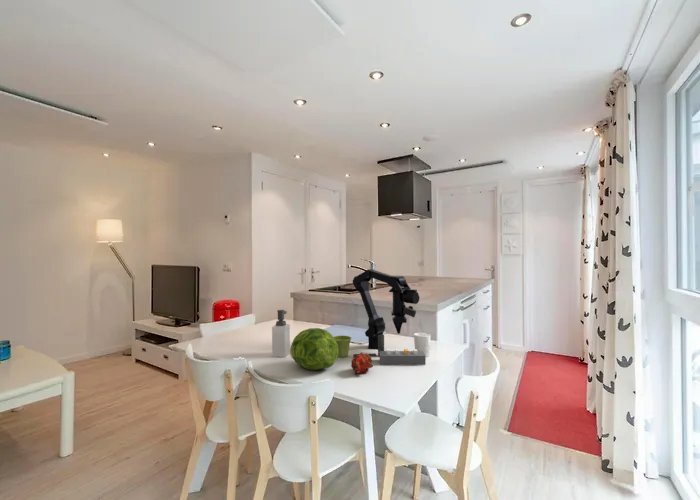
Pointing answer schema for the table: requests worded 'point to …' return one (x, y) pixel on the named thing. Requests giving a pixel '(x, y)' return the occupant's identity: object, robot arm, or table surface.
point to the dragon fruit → (361, 363)
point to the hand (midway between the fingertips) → (398, 333)
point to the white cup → (422, 343)
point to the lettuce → (314, 349)
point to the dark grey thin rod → (368, 354)
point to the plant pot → (343, 345)
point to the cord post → (380, 343)
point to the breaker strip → (402, 357)
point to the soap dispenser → (281, 336)
